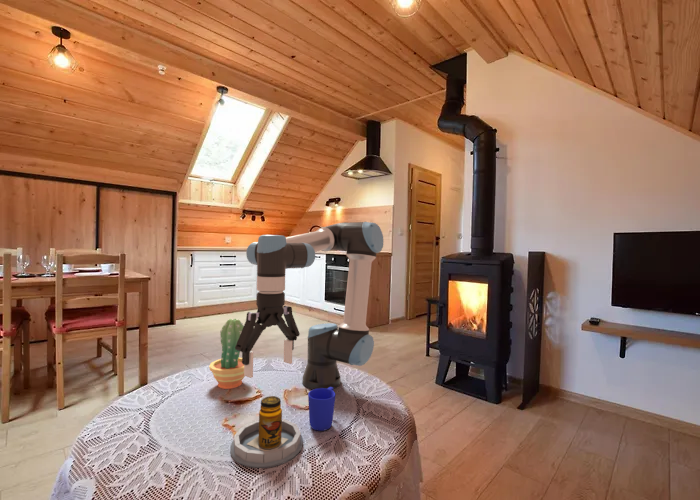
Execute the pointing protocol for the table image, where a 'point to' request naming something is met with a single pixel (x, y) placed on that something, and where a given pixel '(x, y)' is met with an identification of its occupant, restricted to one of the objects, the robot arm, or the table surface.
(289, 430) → the bowl
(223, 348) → the potted cactus
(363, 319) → the robot arm
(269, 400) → the condiment
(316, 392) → the mug
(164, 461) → the table surface
